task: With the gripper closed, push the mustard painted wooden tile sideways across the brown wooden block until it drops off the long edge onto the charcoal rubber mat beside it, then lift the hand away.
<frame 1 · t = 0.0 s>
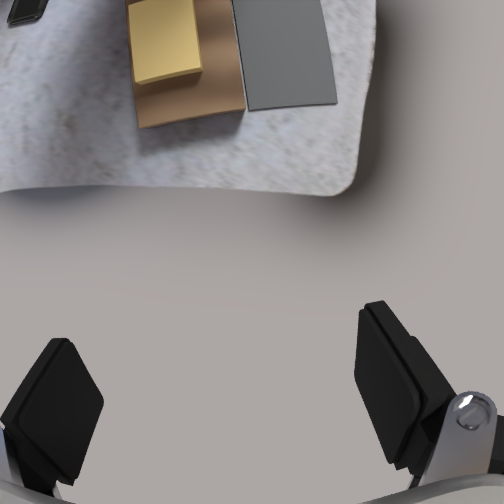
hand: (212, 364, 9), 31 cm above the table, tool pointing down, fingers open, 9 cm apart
mat: (282, 32, 31), on the table
brown wooden block: (185, 44, 31), on the table
tile: (166, 38, 27), point 4 cm above the table, touching brown wooden block
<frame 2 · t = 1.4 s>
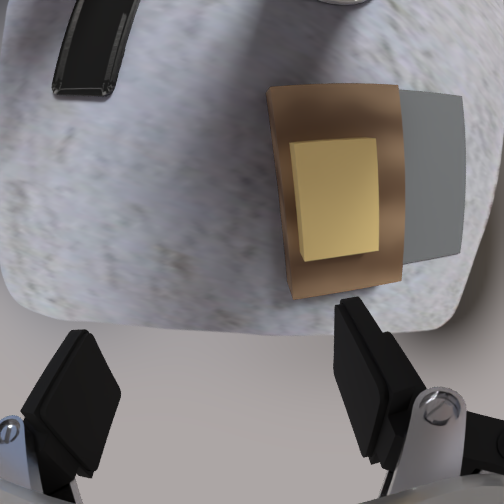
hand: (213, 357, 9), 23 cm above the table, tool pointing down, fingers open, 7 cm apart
mat: (431, 178, 30), on the table
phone: (100, 31, 23), on the table
brown wooden block: (335, 185, 31), on the table
tile: (333, 195, 27), point 4 cm above the table, touching brown wooden block
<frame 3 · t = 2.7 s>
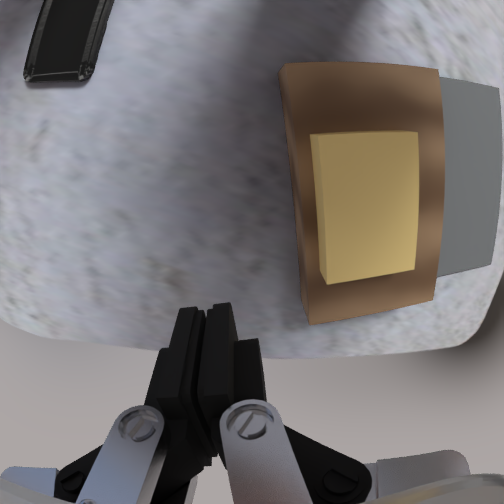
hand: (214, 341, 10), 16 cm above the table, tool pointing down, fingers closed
mat: (466, 180, 25), on the table
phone: (79, 7, 17), on the table
brown wooden block: (361, 187, 25), on the table
tile: (362, 201, 21), point 4 cm above the table, touching brown wooden block
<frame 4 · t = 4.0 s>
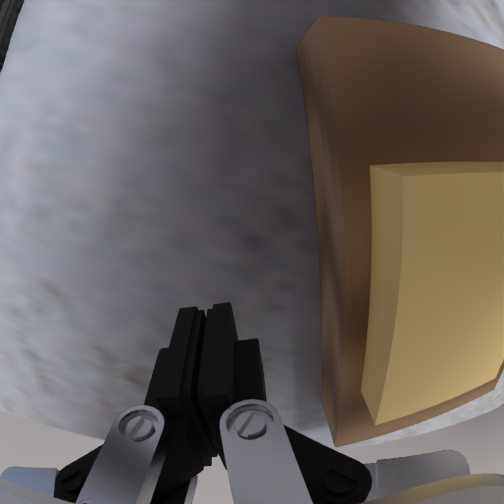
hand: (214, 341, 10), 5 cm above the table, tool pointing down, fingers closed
brown wooden block: (425, 245, 15), on the table
tile: (443, 285, 11), point 4 cm above the table, touching brown wooden block
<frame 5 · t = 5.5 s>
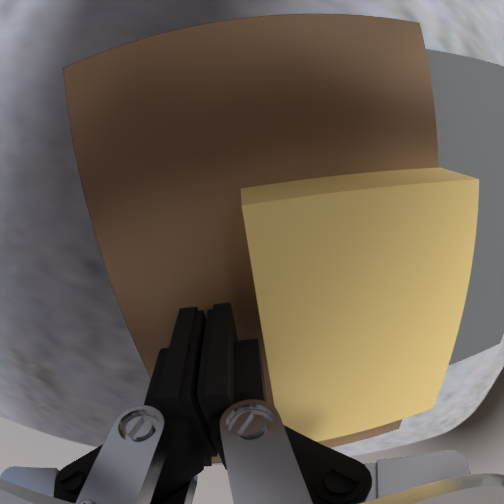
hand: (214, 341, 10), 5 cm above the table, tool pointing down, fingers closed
mat: (475, 232, 14), on the table
brown wooden block: (275, 268, 15), on the table
tile: (355, 309, 11), point 4 cm above the table, touching brown wooden block, gripper
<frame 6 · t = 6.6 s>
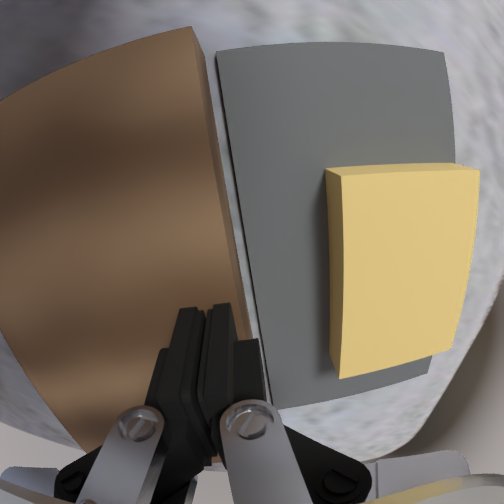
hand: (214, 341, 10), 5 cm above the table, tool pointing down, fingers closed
mat: (362, 253, 15), on the table
brown wooden block: (124, 289, 15), on the table
tile: (414, 283, 13), point 2 cm above the table, tilted 180°, touching mat
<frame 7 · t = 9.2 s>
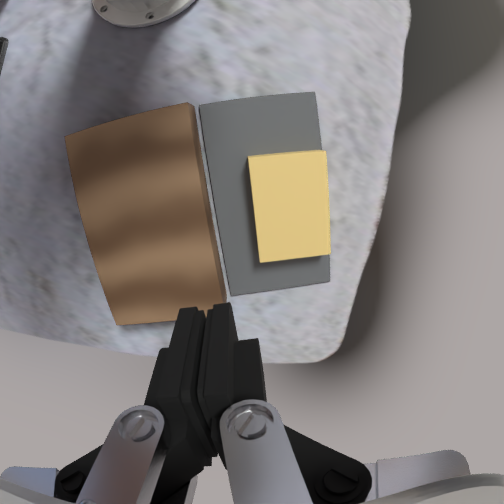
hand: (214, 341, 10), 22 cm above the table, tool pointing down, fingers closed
mat: (270, 197, 30), on the table
brown wooden block: (152, 215, 30), on the table
tile: (292, 208, 28), point 2 cm above the table, tilted 180°, touching mat
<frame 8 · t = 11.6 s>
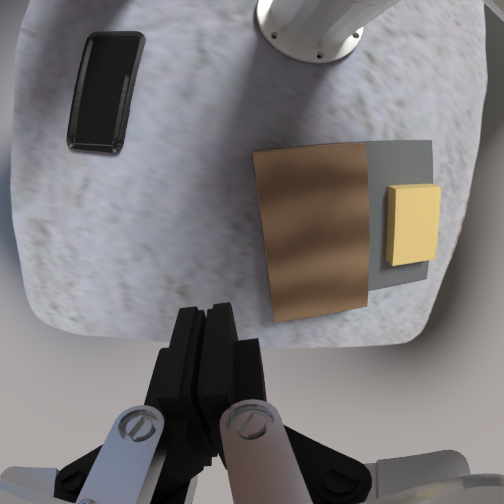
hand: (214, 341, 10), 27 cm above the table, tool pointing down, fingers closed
mat: (398, 217, 37), on the table
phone: (106, 90, 30), on the table
brown wooden block: (311, 228, 37), on the table
tile: (417, 226, 35), point 2 cm above the table, tilted 180°, touching mat
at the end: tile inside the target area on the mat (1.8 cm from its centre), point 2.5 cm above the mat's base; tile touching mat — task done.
